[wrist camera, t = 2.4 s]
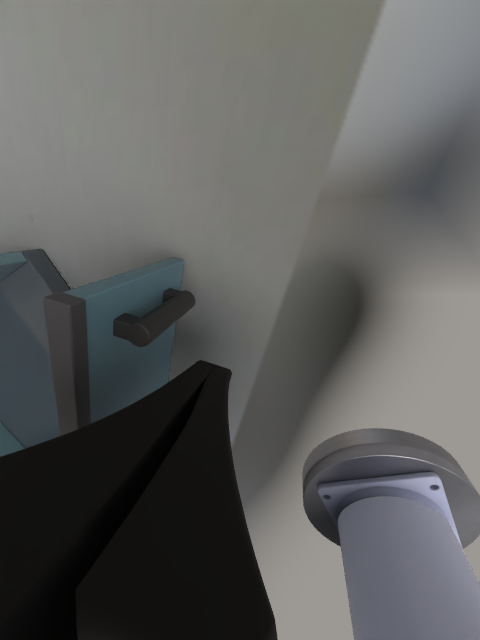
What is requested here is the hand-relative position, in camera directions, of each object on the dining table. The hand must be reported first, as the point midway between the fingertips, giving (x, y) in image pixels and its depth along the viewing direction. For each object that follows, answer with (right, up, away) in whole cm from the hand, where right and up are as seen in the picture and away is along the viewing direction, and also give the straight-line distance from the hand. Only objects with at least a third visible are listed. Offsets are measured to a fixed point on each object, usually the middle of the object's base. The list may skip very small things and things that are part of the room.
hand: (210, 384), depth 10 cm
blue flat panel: (-2, 0, +4) cm, 5 cm away
